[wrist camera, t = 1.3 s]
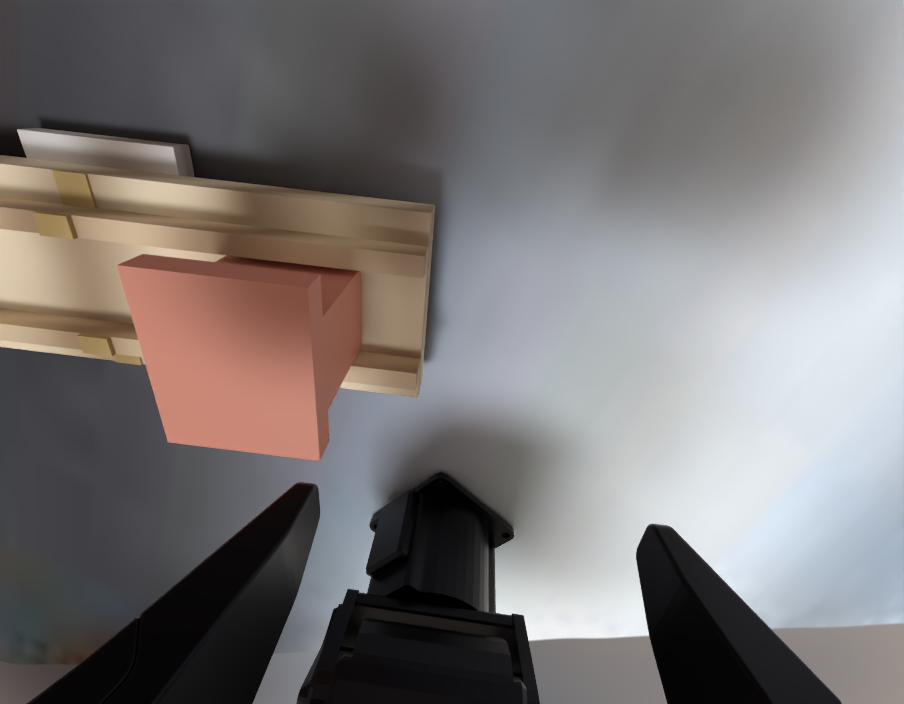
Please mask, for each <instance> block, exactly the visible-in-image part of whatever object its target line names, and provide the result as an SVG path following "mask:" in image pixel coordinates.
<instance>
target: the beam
mask: <svg viewBox="0 0 904 704" xmlns="http://www.w3.org/2000/svg"><path fill="white" fill-rule="evenodd" d="M17 132H18V134H19V137H20V140H21V143H22V146H23V149H24V151H25V154H26V157H27V158H23V157H14V156H5V155H0V347H7V348H15V349H24V350H32V351H40V352H48V353H57V354H65V355H73V356H81V357H90V358H98V359H106V360H114V361H115V362H120V363H128V364H136V365H142V364H145V361H144V357H143V354H142V351H141V347H140V344H139V340H138V337H137V333H136V330H135V326H134V323H133V320H132V316H131V313H130V309H129V306H128V302H127V299H126V296H125V292H124V289H123V285H122V282H121V278H120V275H119V271H118V268H117V265H118V264H120V263H123V262H125V261H127V260H130V259H132V258H134V257H137V256H139V255H141V254H149V255H158V256H166V257H175V258H183V259H192V260H200V261H209V262H216V261H218V260H219V259H221V258H223V257H225V256H226V255H228V256H236V257H245V258H253V259H262V260H270V261H279V262H287V263H296V264H304V265H313V266H321V267H330V268H338V269H347V270H355V271H361V348H360V350H359V352H358V354H357V355H356V357H355V359H354V361H353V363H352V365H351V367H350V369H349V371H348V373H347V375H346V376H345V378H344V380H343V382H342V384H341V386H340V388H346V389H354V390H362V391H371V392H379V393H387V394H395V395H404V396H412V397H418V394H419V390H420V386H421V382H422V374H423V361H424V348H425V335H426V322H427V308H428V295H429V282H430V269H431V255H432V242H433V229H434V216H435V205H432V204H423V203H414V202H405V201H397V200H388V199H379V198H371V197H362V196H353V195H345V194H336V193H327V192H318V191H310V190H301V189H292V188H284V187H275V186H266V185H257V184H249V183H240V182H231V181H223V180H214V179H205V178H197V177H195V176H194V170H193V165H192V159H191V154H190V148H189V145H184V144H175V143H166V142H158V141H149V140H140V139H131V138H123V137H114V136H105V135H96V134H87V133H79V132H70V131H61V130H52V129H44V128H33V129H17Z"/></svg>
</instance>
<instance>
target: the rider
mask: <svg viewBox="0 0 904 704" xmlns="http://www.w3.org/2000/svg"><path fill="white" fill-rule="evenodd" d="M117 268H118V271H119V275H120V278H121V282H122V285H123V289H124V292H125V296H126V299H127V302H128V306H129V309H130V313H131V316H132V320H133V323H134V326H135V330H136V333H137V337H138V340H139V344H140V347H141V351H142V354H143V357H144V361H145V364H146V368H147V371H148V375H149V378H150V381H151V385H152V388H153V392H154V395H155V399H156V402H157V406H158V409H159V412H160V416H161V419H162V423H163V426H164V430H165V433H166V436H167V440H168V442H171V443H179V444H187V445H195V446H203V447H211V448H219V449H227V450H236V451H244V452H252V453H260V454H268V455H276V456H284V457H292V458H300V459H309V460H317V461H320V459H321V457H322V455H323V453H324V451H325V449H326V447H327V445H328V442H329V423H328V409H329V407H330V405H331V403H332V401H333V399H334V397H335V396H336V394H337V392H338V390H339V388H340V386H341V384H342V382H343V380H344V378H345V376H346V375H347V373H348V371H349V369H350V367H351V365H352V363H353V361H354V359H355V357H356V355H357V354H358V352H359V350H360V348H361V271H355V270H347V269H338V268H330V267H321V266H313V265H304V264H296V263H287V262H279V261H270V260H262V259H253V258H245V257H236V256H228V255H226V256H225V257H223V258H221V259H219V260H218V261H216V262H209V261H200V260H192V259H183V258H175V257H166V256H158V255H149V254H141V255H139V256H137V257H134V258H132V259H130V260H127V261H125V262H123V263H120V264H118V265H117Z"/></svg>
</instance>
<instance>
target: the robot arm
mask: <svg viewBox="0 0 904 704" xmlns="http://www.w3.org/2000/svg"><path fill="white" fill-rule="evenodd" d="M439 481H442V482H443V483H442V482H439ZM319 518H320V503H319V491H318V487H317V485H316V484H312V483H304V482H299V483H296V484H295V485H293V486H292V487H291V488H290V489H289V490H287V491H286V492H285V493H284V494H283V495H281V496H280V497H279V498H278V499H277V500H275V501H274V502H273V503H272V504H271V505H270V506H268V507H267V508H266V509H265V510H264V511H262V512H261V513H260V514H259V515H258V516H256V517H255V518H254V519H253V520H252V521H251V522H249V523H248V524H247V525H246V526H245V527H243V528H242V529H241V530H240V531H239V532H237V533H236V534H235V535H234V536H233V537H232V538H230V539H229V540H228V541H227V542H226V543H224V544H223V545H222V546H221V547H220V548H218V549H217V550H216V551H215V552H214V553H212V554H211V555H210V556H209V557H208V558H207V559H205V560H204V561H203V562H202V563H201V564H199V565H198V566H197V567H196V568H195V569H193V570H192V571H191V572H190V573H189V574H188V575H186V576H185V577H184V578H183V579H182V580H180V581H179V582H178V583H177V584H176V585H174V586H173V587H172V588H171V589H170V590H169V591H167V592H166V593H165V594H164V595H163V596H161V597H160V598H159V599H158V600H157V601H155V602H154V603H153V604H152V605H151V606H149V607H148V608H147V609H146V610H145V611H144V612H142V613H141V615H140V618H135V619H134V620H133V621H131V622H130V623H129V624H128V625H127V626H125V627H124V628H123V629H122V630H121V631H120V632H118V633H117V634H116V635H115V636H114V637H112V638H111V639H110V640H109V641H107V642H106V643H105V644H104V645H102V646H101V647H100V648H99V649H98V650H96V651H95V652H94V653H93V654H91V655H90V656H89V657H88V658H86V659H85V660H84V661H83V662H81V663H80V664H79V665H78V666H76V667H75V668H74V669H72V670H71V671H70V672H68V673H67V674H66V675H65V676H63V677H62V678H61V679H59V680H58V681H56V682H55V683H54V684H53V685H51V686H50V687H49V688H47V689H46V690H45V691H44V692H42V693H41V694H39V695H38V696H37V697H35V698H34V699H32V700H31V701H30V702H29V703H27V704H252V703H253V701H254V698H255V695H256V693H257V691H258V688H259V686H260V684H261V681H262V679H263V677H264V674H265V672H266V669H267V667H268V664H269V662H270V659H271V657H272V655H273V652H274V650H275V647H276V645H277V643H278V640H279V638H280V635H281V633H282V630H283V628H284V626H285V623H286V621H287V618H288V616H289V614H290V611H291V609H292V606H293V604H294V601H295V598H296V596H297V593H298V590H299V587H300V583H301V580H302V577H303V573H304V570H305V566H306V563H307V560H308V556H309V553H310V549H311V546H312V543H313V539H314V536H315V532H316V529H317V526H318V522H319ZM370 529H371V530H372V531H374V532H375V536H374V540H373V544H372V548H371V551H370V555H369V559H368V563H367V567H366V573H367V575H369V576H370V577H371V580H370V584H369V588H368V592H367V594H365V593H359V590H353V589H348V590H347V593H346V596H345V599H344V601H343V604H339V606H338V607H337V608H335V609H334V610H333V613H332V616H331V619H330V623H329V626H328V629H327V632H326V635H325V638H324V641H323V644H322V646H321V649H320V651H319V653H318V655H317V657H316V659H315V661H314V663H313V665H312V667H311V669H310V671H309V673H308V675H307V677H306V679H305V681H304V683H303V685H302V687H301V689H300V692H299V695H298V699H297V704H540V702H539V696H538V690H537V684H536V679H535V674H534V668H533V663H532V658H531V653H530V647H529V642H528V636H527V631H526V626H525V621H524V616H523V615H518V614H512V615H505V614H498V613H496V606H495V548H497V547H499V546H501V545H502V544H504V543H506V542H508V541H510V540H511V539H513V537H514V529H513V527H512V526H511V525H510V524H508V523H507V522H506V521H505V520H503V519H502V518H501V517H500V516H498V515H497V514H496V513H495V512H493V511H492V510H491V509H490V508H488V507H487V506H486V505H485V504H483V503H482V502H481V501H480V500H478V499H477V498H476V497H475V496H473V495H472V494H471V493H470V492H468V491H467V490H466V489H465V488H463V487H462V486H461V485H460V484H458V483H457V482H456V481H455V480H453V479H452V478H451V477H450V476H448V475H447V474H445V473H437V474H435V475H434V476H432V477H431V478H429V479H428V480H426V481H425V482H423V483H422V484H420V485H419V486H418V487H416V488H415V489H413V490H411V491H408V492H406V493H405V494H403V495H402V496H400V497H399V498H398V499H396V500H395V501H393V502H392V503H390V504H389V505H387V506H386V507H384V508H383V509H382V510H381V512H380V513H378V514H377V515H375V516H374V517H373V518H372V519H371V522H370ZM636 560H637V566H638V572H639V578H640V584H641V590H642V596H643V602H644V608H645V614H646V620H647V626H648V631H649V636H650V640H651V644H652V648H653V652H654V656H655V659H656V663H657V667H658V671H659V674H660V678H661V682H662V685H663V689H664V693H665V696H666V700H667V703H668V704H841V701H840V700H839V699H838V698H837V696H836V695H835V694H834V693H833V692H832V691H831V690H830V689H829V688H828V687H827V686H826V685H825V684H824V683H823V682H822V681H821V680H820V679H819V678H818V677H817V676H816V675H815V674H814V673H813V672H812V671H811V670H810V669H809V668H808V667H807V666H806V665H805V664H804V663H803V662H802V661H801V659H799V657H798V656H797V655H796V654H795V653H794V652H793V651H792V650H791V649H789V647H788V646H787V645H786V644H785V643H784V642H783V641H782V640H781V639H780V638H779V637H778V636H777V635H776V634H775V633H774V632H773V631H772V630H771V629H770V628H769V627H768V626H767V625H766V624H765V622H764V621H763V620H762V619H761V618H760V617H759V616H758V615H757V614H756V613H755V612H754V611H753V610H752V609H751V608H750V607H749V606H748V605H747V604H746V603H745V602H744V601H743V600H742V599H741V598H740V597H739V596H738V595H737V594H736V593H735V592H734V591H733V590H732V589H731V588H730V587H729V585H728V584H727V583H726V582H725V581H724V580H723V579H722V578H721V577H720V576H719V575H718V574H717V573H716V572H715V571H714V570H713V569H712V568H711V567H710V566H709V565H708V564H707V563H706V562H705V561H704V560H703V559H702V558H701V557H700V556H699V555H698V554H697V553H696V552H695V551H694V550H693V548H692V547H691V546H690V545H689V544H688V543H687V542H686V541H685V540H684V539H683V538H682V537H681V536H680V535H679V534H678V533H677V532H676V531H675V530H674V529H673V528H671V527H670V526H667V525H659V524H650V525H648V526H647V528H646V530H645V532H644V535H643V537H642V539H641V541H640V543H639V546H638V548H637V552H636Z"/></svg>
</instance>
